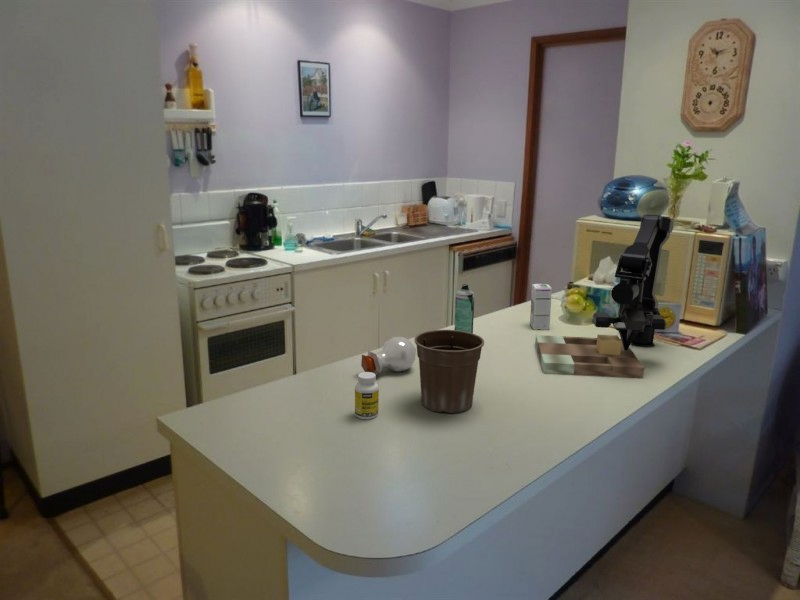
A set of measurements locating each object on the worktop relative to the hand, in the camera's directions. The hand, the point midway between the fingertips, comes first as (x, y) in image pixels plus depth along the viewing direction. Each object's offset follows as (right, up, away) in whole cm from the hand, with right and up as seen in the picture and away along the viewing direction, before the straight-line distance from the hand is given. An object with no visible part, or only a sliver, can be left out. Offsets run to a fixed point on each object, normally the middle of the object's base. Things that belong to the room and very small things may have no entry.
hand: (625, 350), depth 176 cm
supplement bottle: (-72, -12, -34) cm, 80 cm away
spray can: (-45, -1, +10) cm, 46 cm away
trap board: (-11, -3, +2) cm, 11 cm away
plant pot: (-53, -11, -27) cm, 60 cm away
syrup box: (-17, +5, +32) cm, 37 cm away
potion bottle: (-67, -6, -8) cm, 67 cm away
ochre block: (-5, 0, +1) cm, 5 cm away
